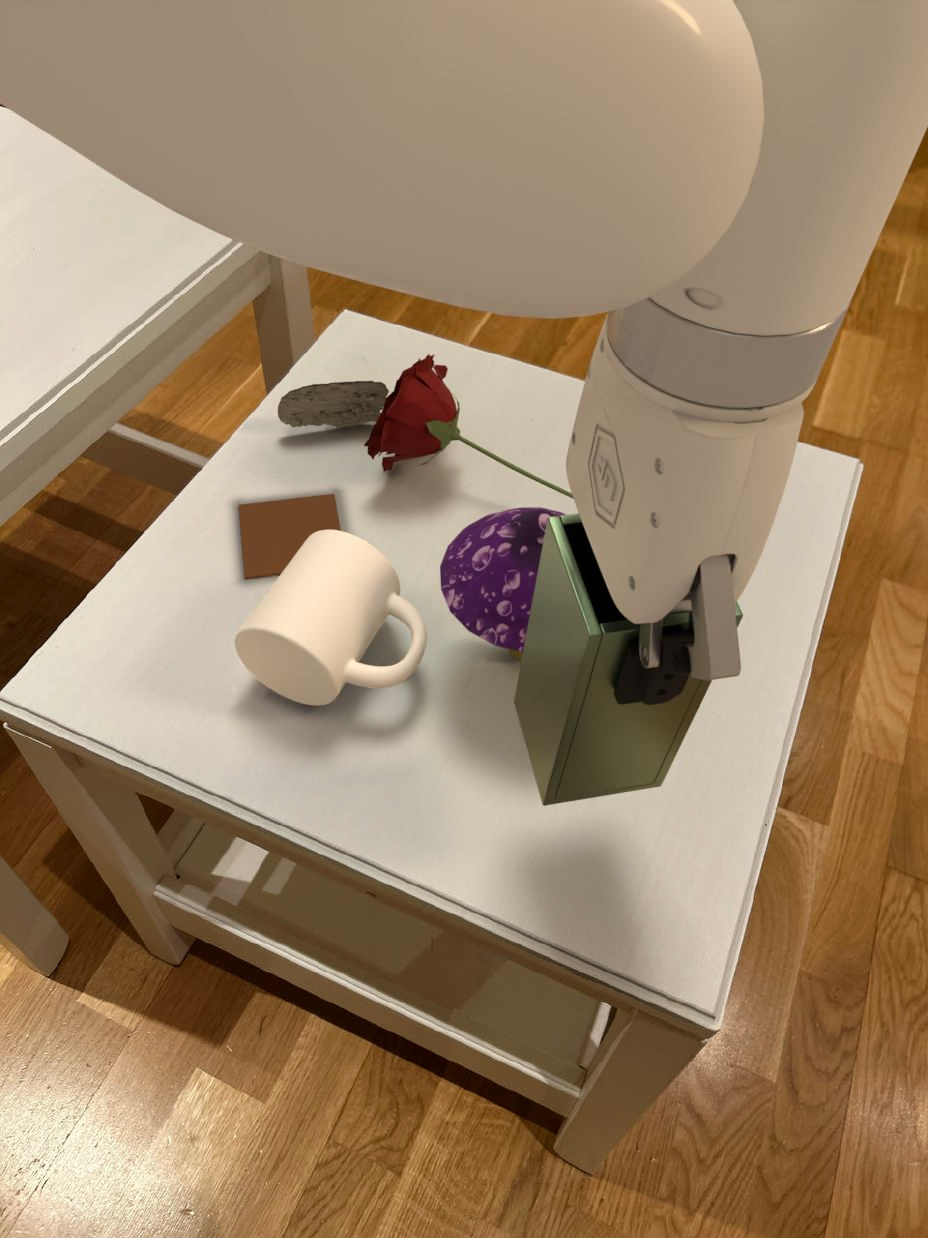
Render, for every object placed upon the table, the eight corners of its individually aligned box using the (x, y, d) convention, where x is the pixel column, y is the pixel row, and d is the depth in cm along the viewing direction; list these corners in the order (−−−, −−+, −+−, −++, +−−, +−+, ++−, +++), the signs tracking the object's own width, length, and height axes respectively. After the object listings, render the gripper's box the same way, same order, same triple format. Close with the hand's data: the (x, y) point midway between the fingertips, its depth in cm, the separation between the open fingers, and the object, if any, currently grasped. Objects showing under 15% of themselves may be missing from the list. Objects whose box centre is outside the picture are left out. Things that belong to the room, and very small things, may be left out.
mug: (242, 681, 67) (224, 613, 61) (310, 584, 73) (300, 513, 67) (391, 742, 65) (388, 679, 59) (450, 638, 71) (453, 569, 64)
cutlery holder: (542, 806, 52) (589, 636, 39) (513, 701, 56) (547, 516, 43) (661, 787, 53) (744, 615, 40) (624, 685, 57) (688, 500, 45)
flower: (721, 582, 68) (366, 390, 71) (665, 655, 77) (351, 481, 79) (761, 490, 74) (434, 317, 77) (705, 567, 83) (412, 409, 86)
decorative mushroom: (408, 686, 68) (406, 549, 56) (477, 568, 75) (489, 424, 63) (568, 752, 65) (603, 622, 53) (625, 622, 72) (666, 482, 60)
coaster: (244, 579, 73) (244, 577, 73) (238, 506, 78) (238, 504, 78) (346, 566, 74) (346, 564, 74) (334, 495, 79) (334, 493, 79)
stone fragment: (279, 434, 83) (275, 389, 79) (279, 428, 83) (275, 384, 79) (388, 425, 85) (389, 382, 81) (387, 420, 85) (388, 377, 81)
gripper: (549, 190, 36) (506, 511, 50) (708, 512, 26) (599, 801, 40) (728, 181, 38) (638, 496, 52) (948, 484, 27) (760, 774, 41)
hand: (621, 628), depth 46 cm, fingers closed on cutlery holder, 7 cm apart
